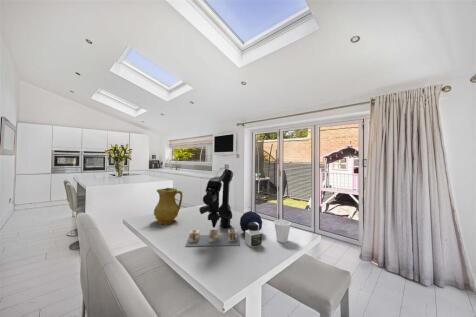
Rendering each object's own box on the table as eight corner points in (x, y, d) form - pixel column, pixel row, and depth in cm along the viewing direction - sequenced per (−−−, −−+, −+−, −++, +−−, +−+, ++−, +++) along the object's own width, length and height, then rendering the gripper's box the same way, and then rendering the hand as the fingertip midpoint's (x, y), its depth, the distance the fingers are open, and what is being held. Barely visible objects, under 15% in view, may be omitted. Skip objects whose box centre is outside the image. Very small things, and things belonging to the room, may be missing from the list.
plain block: (217, 237, 115) (218, 229, 115) (217, 241, 110) (217, 232, 110) (209, 238, 114) (209, 229, 114) (208, 241, 109) (209, 233, 109)
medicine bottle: (251, 248, 104) (251, 226, 104) (244, 242, 110) (245, 222, 110) (261, 245, 107) (262, 224, 107) (255, 240, 114) (255, 220, 113)
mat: (237, 235, 120) (237, 234, 120) (240, 245, 106) (240, 244, 106) (189, 236, 118) (189, 235, 118) (185, 246, 104) (185, 245, 104)
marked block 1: (199, 238, 114) (199, 229, 114) (198, 242, 109) (198, 233, 109) (190, 238, 113) (190, 229, 113) (189, 242, 108) (189, 233, 108)
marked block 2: (236, 237, 116) (236, 229, 116) (236, 241, 111) (237, 232, 111) (227, 237, 115) (228, 229, 115) (228, 241, 110) (228, 232, 110)
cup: (291, 238, 117) (291, 220, 117) (290, 245, 108) (290, 226, 108) (274, 236, 120) (275, 218, 120) (272, 242, 111) (272, 224, 111)
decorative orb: (267, 223, 128) (254, 204, 131) (265, 231, 114) (250, 210, 116) (251, 234, 131) (238, 215, 134) (246, 243, 117) (232, 222, 119)
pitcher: (161, 216, 153) (162, 185, 152) (183, 219, 150) (185, 188, 149) (148, 224, 136) (149, 190, 135) (172, 228, 133) (174, 192, 132)
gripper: (201, 197, 121) (201, 222, 121) (198, 204, 102) (197, 234, 102) (219, 197, 122) (219, 221, 122) (219, 204, 103) (218, 233, 103)
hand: (213, 227), depth 112 cm, fingers closed
